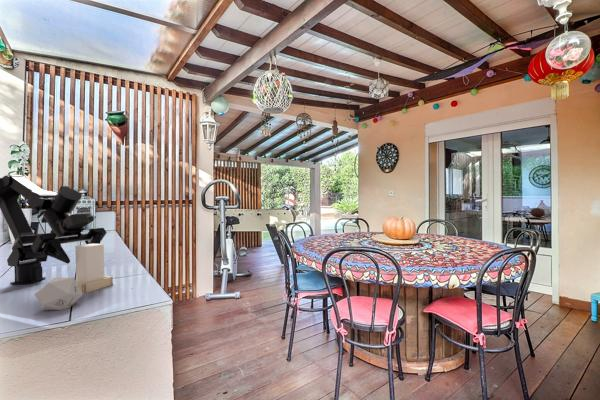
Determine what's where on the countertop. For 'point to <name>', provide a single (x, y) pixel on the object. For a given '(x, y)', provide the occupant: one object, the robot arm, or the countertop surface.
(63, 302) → the die
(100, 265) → the block
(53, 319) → the countertop surface
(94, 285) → the lane rack
